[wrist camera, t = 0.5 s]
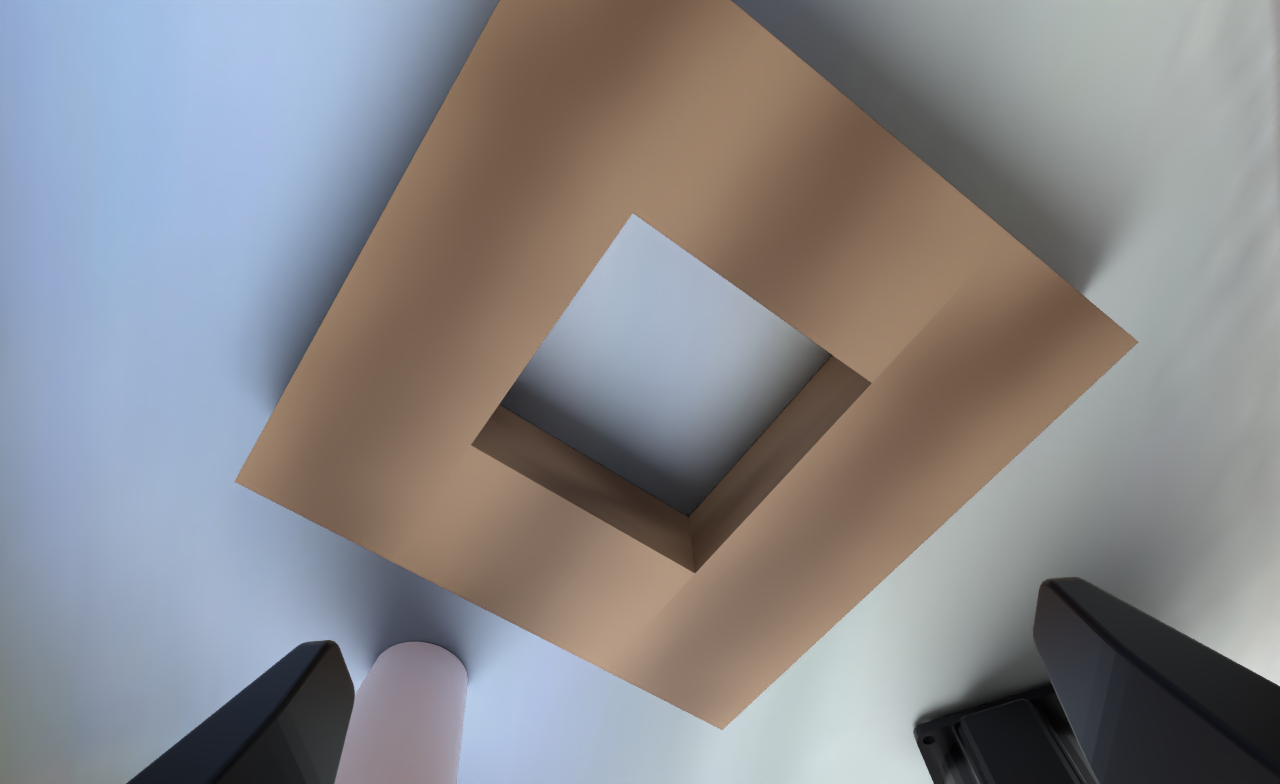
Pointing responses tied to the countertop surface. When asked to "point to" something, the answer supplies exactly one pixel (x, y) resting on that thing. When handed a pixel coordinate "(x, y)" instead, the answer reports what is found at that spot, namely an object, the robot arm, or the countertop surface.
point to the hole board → (742, 254)
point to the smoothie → (407, 719)
